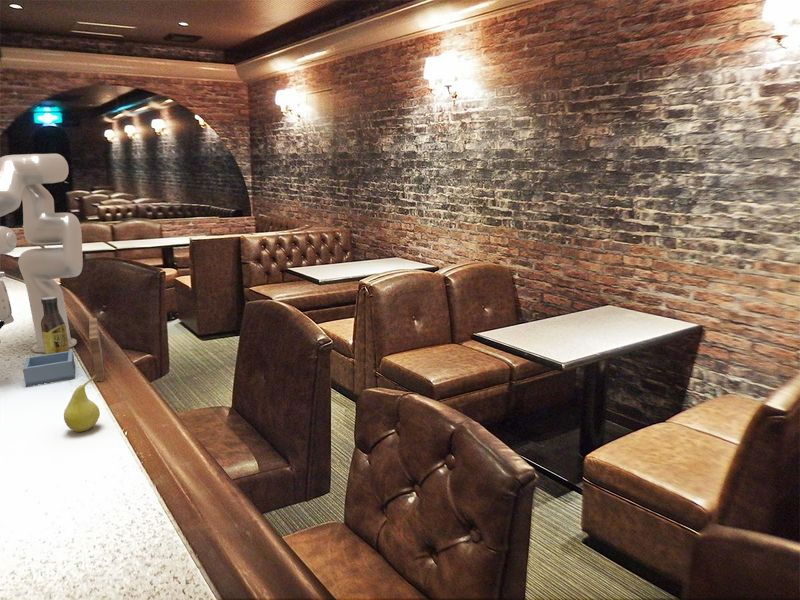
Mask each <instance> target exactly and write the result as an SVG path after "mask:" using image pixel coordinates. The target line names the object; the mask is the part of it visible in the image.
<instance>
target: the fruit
mask: <svg viewBox="0 0 800 600" xmlns="http://www.w3.org/2000/svg"><path fill="white" fill-rule="evenodd" d="M94 380H96V375H95V374H93V376H92V377H91V378H90V379H88V380H87V381H86V382H85V383H83V384H81V385H79V386H78V387H77V388H76V389H75V390H74V391H73V393H72V394H71V395H72V396H71V398H70V400H69V401H68V403H67V406H66V407H65V409H64V412H63V420H64V423H65V424H66V426H67V428H69V429H70V430H71V431H74V432H77V433H83V432H85V431H88V430H89V429H92V427H93V426H95V425H96V423H97V422H98V420H99V418H100V416H101V413H100V408H99V406H98V405H97V404H96V403H95V402H94V401H92V400H91V399H89V398H88V395H87V392H86V386H87V385H88V384H89V383H90V382H92V381H94Z"/></svg>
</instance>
